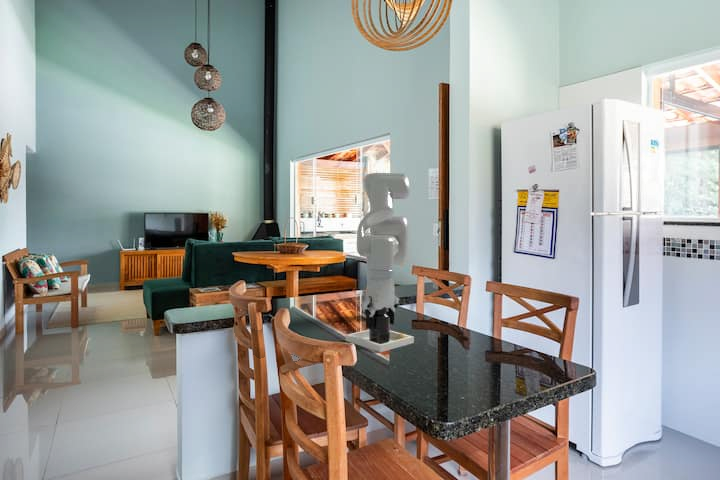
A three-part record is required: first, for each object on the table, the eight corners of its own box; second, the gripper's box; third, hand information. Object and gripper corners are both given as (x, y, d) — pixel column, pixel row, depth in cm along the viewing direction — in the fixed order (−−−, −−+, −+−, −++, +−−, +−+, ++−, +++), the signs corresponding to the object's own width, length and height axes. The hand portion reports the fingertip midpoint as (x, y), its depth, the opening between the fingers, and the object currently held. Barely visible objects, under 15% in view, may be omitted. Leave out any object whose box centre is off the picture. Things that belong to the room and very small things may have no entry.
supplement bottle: (377, 337, 155) (378, 303, 154) (393, 341, 151) (394, 306, 150) (364, 341, 150) (365, 305, 149) (381, 346, 146) (382, 309, 145)
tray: (378, 335, 162) (379, 327, 162) (413, 345, 150) (414, 336, 150) (345, 343, 151) (345, 334, 151) (380, 355, 139) (380, 345, 139)
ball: (400, 340, 152) (400, 331, 152) (407, 342, 150) (407, 333, 150) (394, 342, 150) (394, 333, 150) (401, 344, 148) (401, 335, 148)
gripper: (390, 271, 158) (389, 320, 159) (354, 275, 146) (353, 327, 147) (407, 273, 152) (405, 324, 153) (371, 278, 140) (369, 332, 141)
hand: (380, 325), depth 150 cm, fingers open, 9 cm apart
